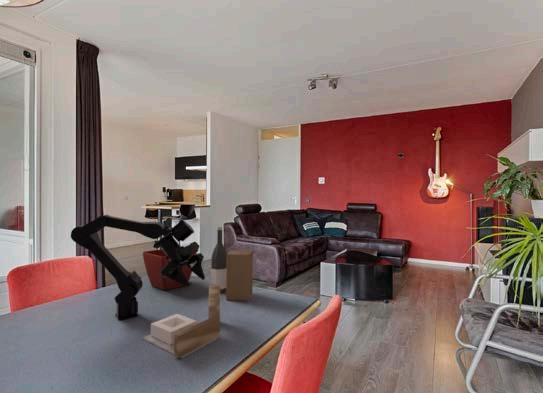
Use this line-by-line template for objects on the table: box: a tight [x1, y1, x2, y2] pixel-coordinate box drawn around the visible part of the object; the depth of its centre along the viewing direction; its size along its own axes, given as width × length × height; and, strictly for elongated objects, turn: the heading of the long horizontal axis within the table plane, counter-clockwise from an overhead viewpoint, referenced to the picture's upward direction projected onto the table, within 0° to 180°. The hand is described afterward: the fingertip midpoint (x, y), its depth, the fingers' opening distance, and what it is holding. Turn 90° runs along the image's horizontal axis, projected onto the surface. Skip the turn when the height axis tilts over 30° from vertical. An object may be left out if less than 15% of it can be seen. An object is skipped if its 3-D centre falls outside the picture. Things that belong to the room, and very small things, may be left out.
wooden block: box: [225, 249, 254, 302], centre depth 135 cm, size 10×10×20 cm
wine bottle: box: [210, 226, 228, 293], centre depth 144 cm, size 8×8×30 cm
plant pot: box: [142, 248, 198, 291], centre depth 150 cm, size 19×19×17 cm
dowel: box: [207, 284, 221, 319], centre depth 108 cm, size 4×4×13 cm
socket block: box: [150, 313, 198, 345], centre depth 97 cm, size 10×10×4 cm
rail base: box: [142, 316, 221, 359], centre depth 95 cm, size 18×16×7 cm
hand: (196, 282), depth 110 cm, fingers open, 9 cm apart
